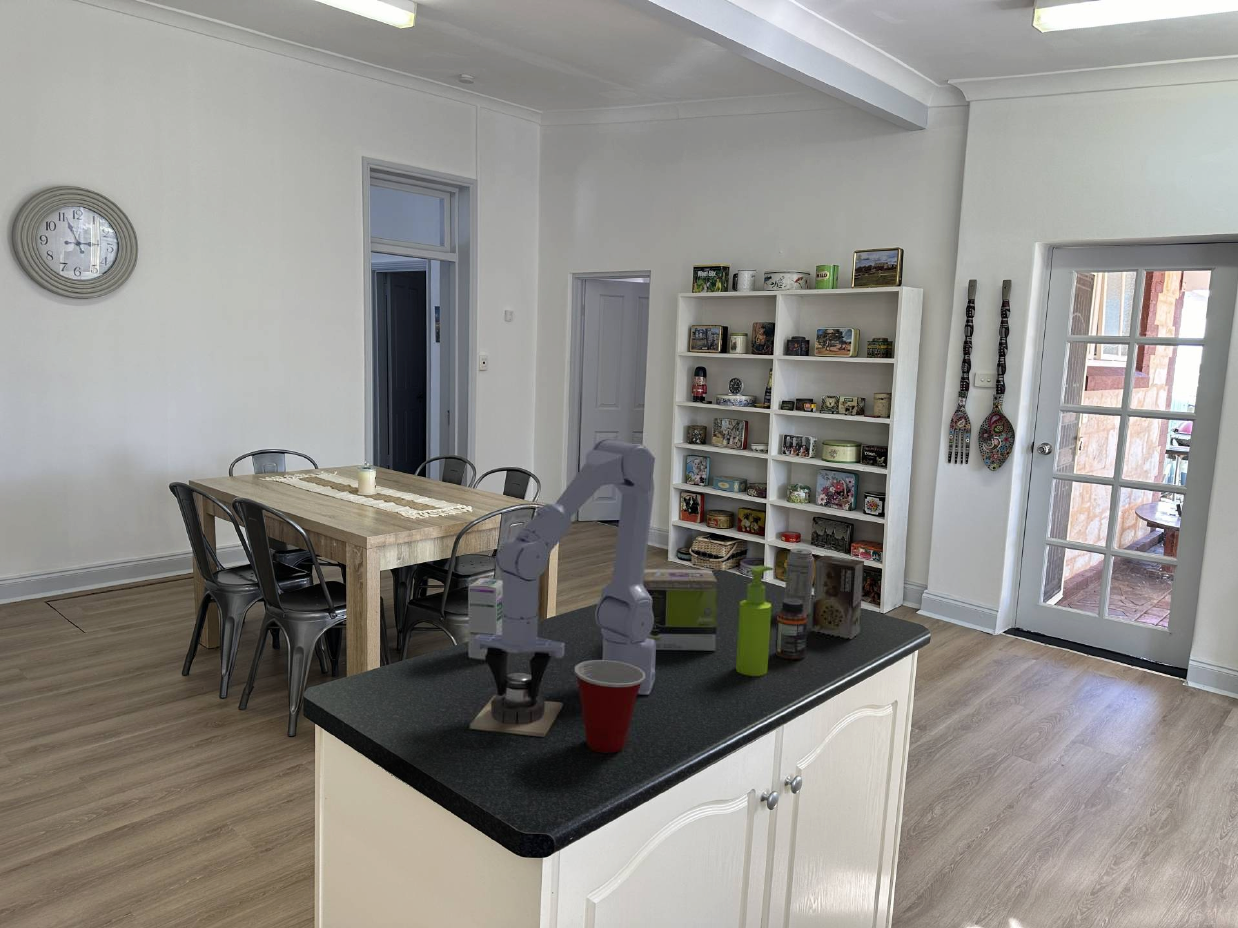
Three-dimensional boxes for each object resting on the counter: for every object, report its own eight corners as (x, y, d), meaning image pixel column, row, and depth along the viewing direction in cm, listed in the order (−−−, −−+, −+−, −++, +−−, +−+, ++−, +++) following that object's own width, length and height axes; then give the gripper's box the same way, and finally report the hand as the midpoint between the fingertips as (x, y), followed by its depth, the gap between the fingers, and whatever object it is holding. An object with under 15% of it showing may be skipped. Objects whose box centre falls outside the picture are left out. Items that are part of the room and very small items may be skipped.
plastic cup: (656, 750, 133) (660, 674, 131) (595, 767, 127) (598, 687, 125) (617, 723, 142) (620, 652, 140) (559, 737, 136) (561, 663, 134)
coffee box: (860, 632, 193) (865, 560, 191) (851, 640, 187) (856, 566, 185) (820, 624, 198) (825, 553, 195) (810, 631, 192) (814, 559, 190)
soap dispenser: (776, 669, 169) (782, 567, 166) (755, 678, 164) (762, 573, 161) (750, 661, 172) (756, 561, 170) (729, 669, 167) (735, 567, 165)
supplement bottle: (782, 648, 181) (785, 594, 179) (809, 654, 177) (813, 600, 176) (769, 656, 176) (773, 601, 174) (797, 663, 172) (801, 607, 171)
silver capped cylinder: (534, 709, 145) (536, 674, 144) (527, 720, 141) (529, 684, 140) (507, 706, 146) (509, 671, 145) (500, 717, 141) (501, 681, 140)
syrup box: (496, 661, 167) (497, 587, 165) (466, 658, 169) (468, 584, 167) (506, 651, 173) (507, 579, 171) (477, 648, 174) (478, 576, 172)
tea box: (709, 636, 187) (712, 568, 185) (715, 652, 177) (719, 581, 175) (638, 634, 186) (641, 566, 184) (641, 650, 176) (644, 578, 174)
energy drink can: (814, 614, 205) (819, 551, 203) (801, 619, 200) (806, 555, 198) (792, 608, 209) (796, 546, 207) (778, 613, 204) (782, 550, 202)
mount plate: (562, 706, 148) (562, 691, 148) (543, 736, 136) (544, 720, 136) (493, 698, 150) (494, 684, 150) (469, 728, 138) (470, 712, 138)
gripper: (468, 617, 138) (466, 699, 140) (557, 625, 136) (555, 709, 137) (482, 604, 145) (481, 683, 147) (568, 612, 142) (566, 692, 144)
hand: (518, 695), depth 143 cm, fingers open, 5 cm apart
